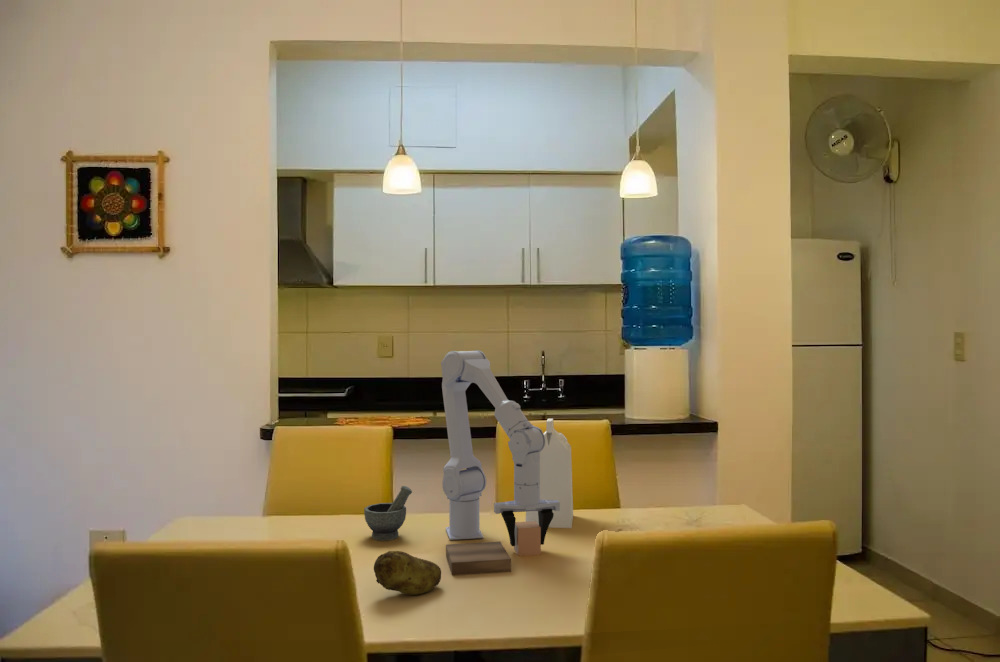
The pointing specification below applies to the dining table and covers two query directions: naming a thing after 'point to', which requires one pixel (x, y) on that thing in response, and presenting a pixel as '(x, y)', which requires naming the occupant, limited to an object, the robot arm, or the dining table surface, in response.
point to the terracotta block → (527, 538)
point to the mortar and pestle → (387, 516)
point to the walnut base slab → (477, 558)
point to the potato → (406, 573)
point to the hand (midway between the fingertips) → (527, 544)
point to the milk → (555, 477)
